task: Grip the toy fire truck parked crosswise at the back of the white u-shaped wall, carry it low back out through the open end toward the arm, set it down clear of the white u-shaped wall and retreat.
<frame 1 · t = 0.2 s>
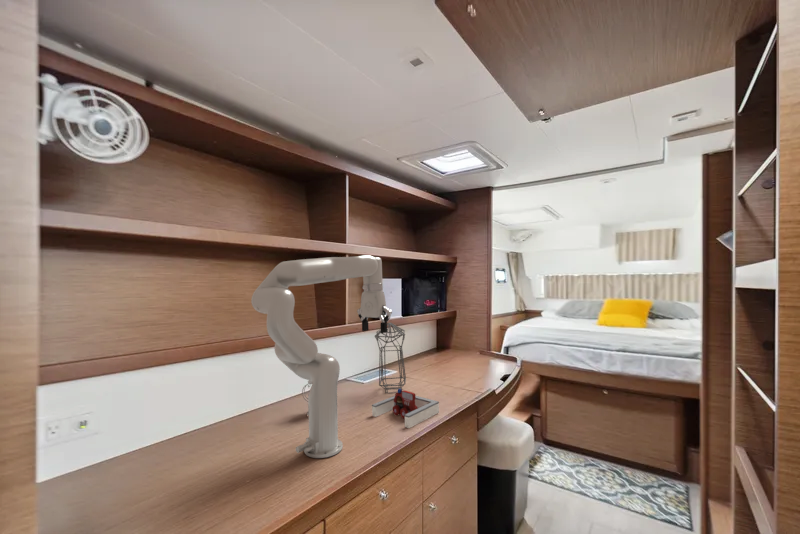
hand: (374, 331, 137), 36 cm above the table, tool pointing down, fingers open, 9 cm apart
white u-shaped wall: (405, 414, 145), on the table
toy fire truck: (405, 415, 145), on the table
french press: (315, 413, 150), on the table
geometric lantern: (391, 391, 178), on the table
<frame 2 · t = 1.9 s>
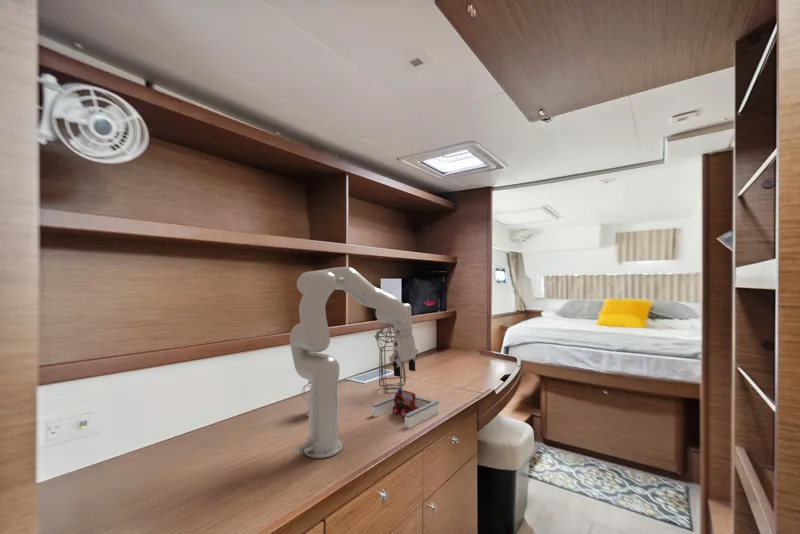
hand: (404, 373, 146), 17 cm above the table, tool pointing down, fingers open, 9 cm apart
nothing on the table moved.
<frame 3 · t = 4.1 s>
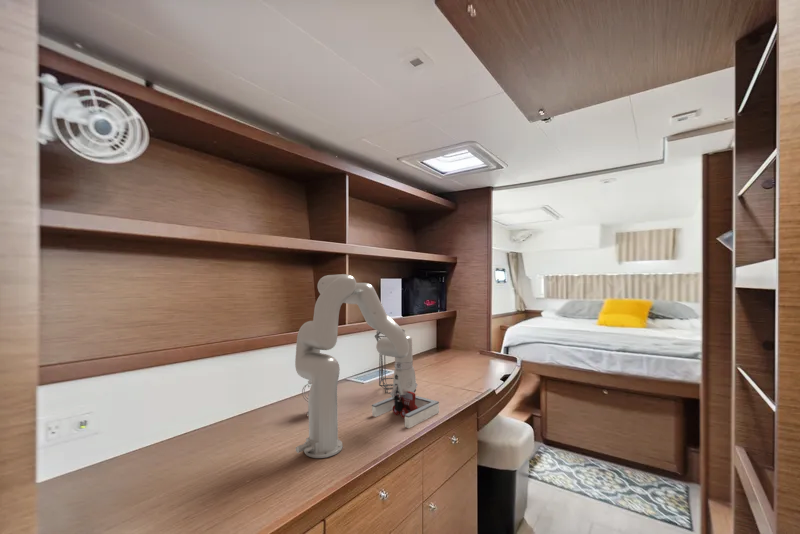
hand: (404, 407, 146), 3 cm above the table, tool pointing down, fingers closed on toy fire truck, 7 cm apart
toy fire truck: (405, 415, 145), on the table, touching gripper
everything else where it was.
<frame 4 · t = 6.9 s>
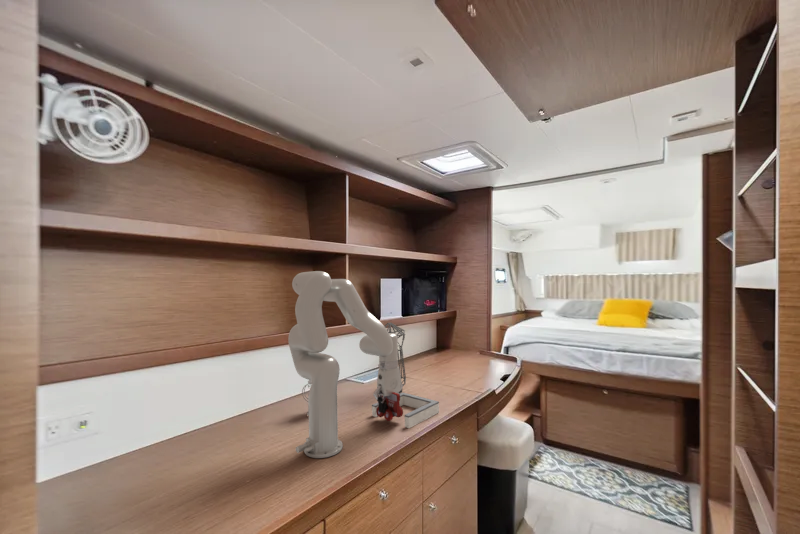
hand: (389, 409, 138), 5 cm above the table, tool pointing down, fingers closed on toy fire truck, 7 cm apart
toy fire truck: (389, 417, 138), point 2 cm above the table, touching gripper
everything else where it was.
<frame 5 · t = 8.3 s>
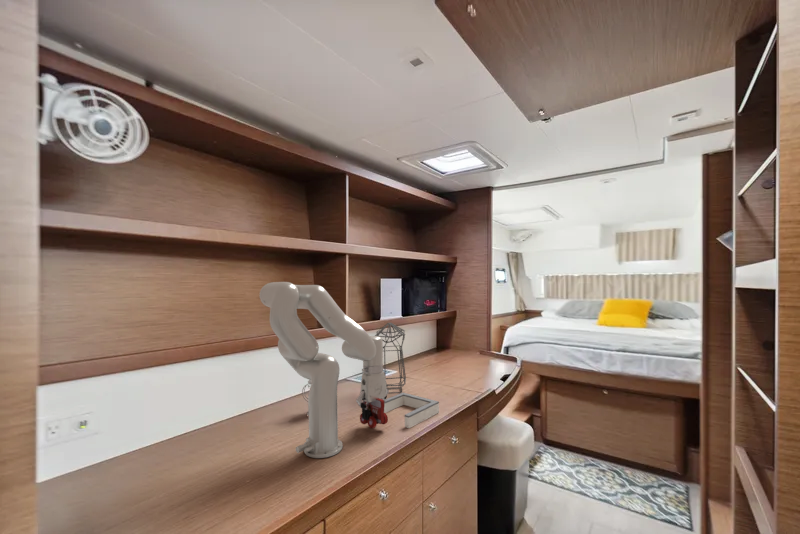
hand: (373, 415, 132), 5 cm above the table, tool pointing down, fingers closed on toy fire truck, 7 cm apart
toy fire truck: (373, 424, 132), point 2 cm above the table, touching gripper
everything else where it was.
when the fingers open (4 cm above the table, at t = 9.7 s): toy fire truck stays where it is, on the table.
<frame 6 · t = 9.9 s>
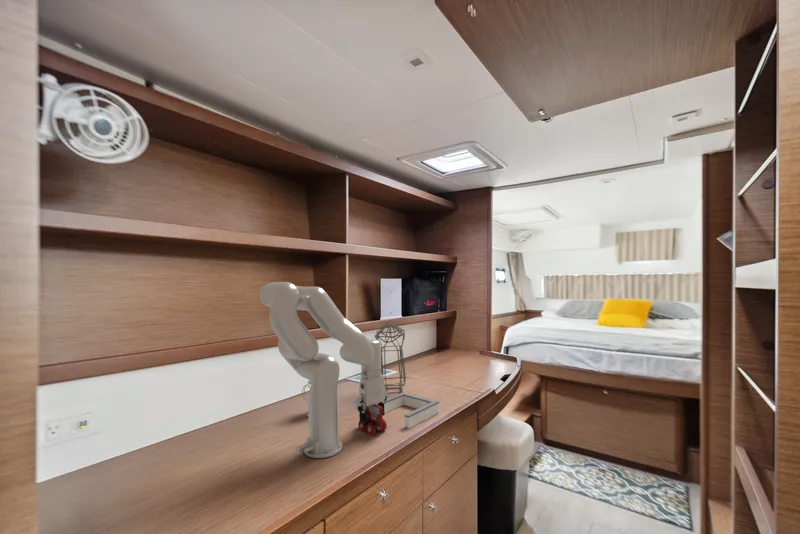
hand: (372, 418, 131), 4 cm above the table, tool pointing down, fingers open, 9 cm apart
toy fire truck: (372, 430, 131), on the table
everything else where it was.
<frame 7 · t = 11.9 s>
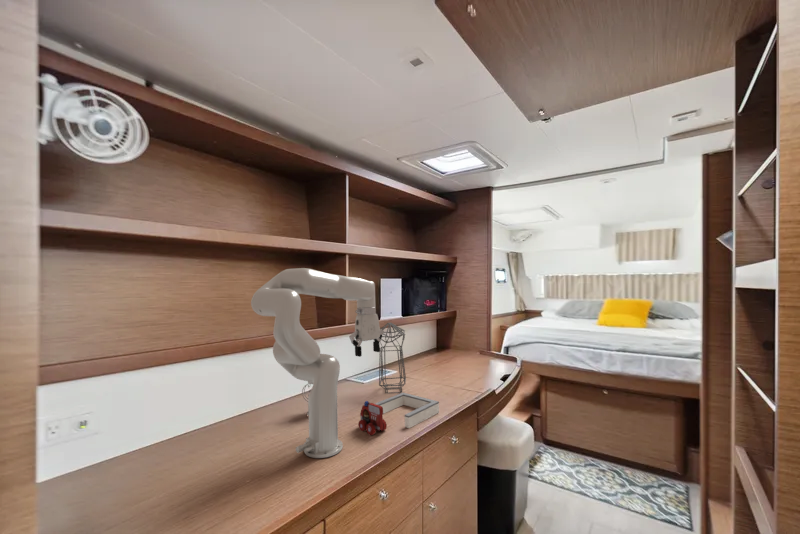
hand: (367, 353, 140), 27 cm above the table, tool pointing down, fingers open, 9 cm apart
nothing on the table moved.
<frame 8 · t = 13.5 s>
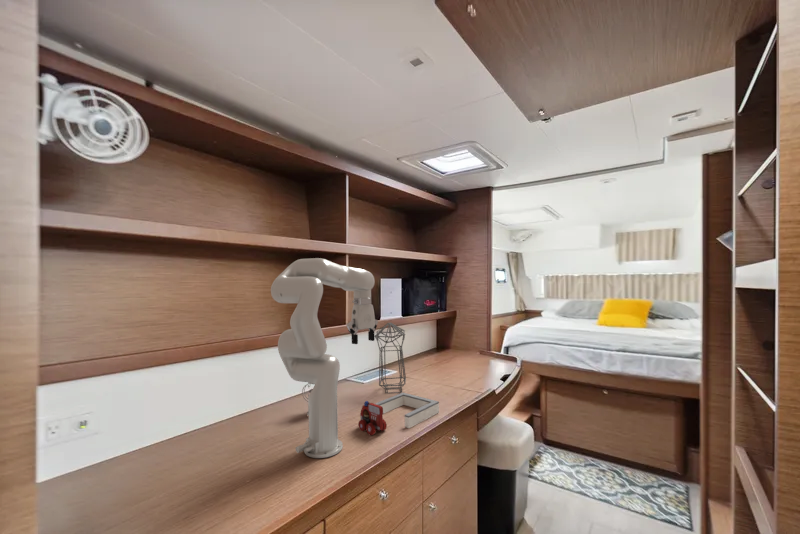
hand: (363, 342, 148), 30 cm above the table, tool pointing down, fingers open, 9 cm apart
nothing on the table moved.
at the end: toy fire truck inside the target area (0.2 cm from its centre), on the table; toy fire truck tilted 0°; the gripper is holding nothing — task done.
